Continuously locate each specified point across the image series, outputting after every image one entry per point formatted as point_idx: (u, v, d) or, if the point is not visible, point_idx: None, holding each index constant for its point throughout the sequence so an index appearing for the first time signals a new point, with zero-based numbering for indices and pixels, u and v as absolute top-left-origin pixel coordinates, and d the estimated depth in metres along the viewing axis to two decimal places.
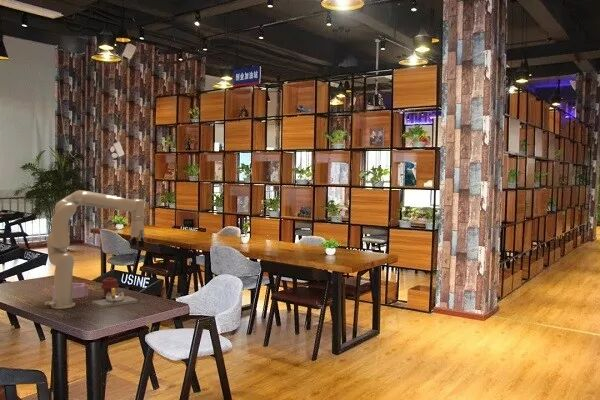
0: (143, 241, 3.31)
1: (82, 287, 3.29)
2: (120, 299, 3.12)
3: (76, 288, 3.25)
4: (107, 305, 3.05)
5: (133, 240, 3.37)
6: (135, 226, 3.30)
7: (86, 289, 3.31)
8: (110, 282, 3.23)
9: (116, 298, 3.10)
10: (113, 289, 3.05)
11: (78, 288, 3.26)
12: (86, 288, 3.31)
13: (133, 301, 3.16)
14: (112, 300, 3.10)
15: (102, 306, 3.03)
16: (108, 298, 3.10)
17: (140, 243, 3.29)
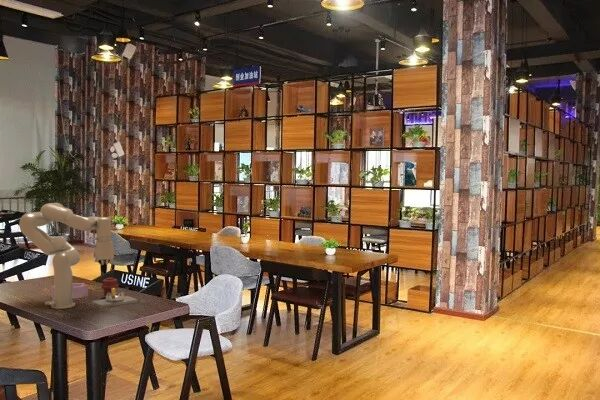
0: None
1: (82, 287, 3.28)
2: (120, 299, 3.12)
3: (76, 288, 3.25)
4: (107, 305, 3.05)
5: None
6: (110, 247, 3.00)
7: (86, 289, 3.31)
8: (110, 282, 3.23)
9: (116, 298, 3.10)
10: (113, 289, 3.05)
11: (78, 288, 3.26)
12: (86, 288, 3.31)
13: (133, 301, 3.16)
14: (112, 300, 3.10)
15: (102, 306, 3.03)
16: (108, 298, 3.10)
17: (106, 267, 3.01)
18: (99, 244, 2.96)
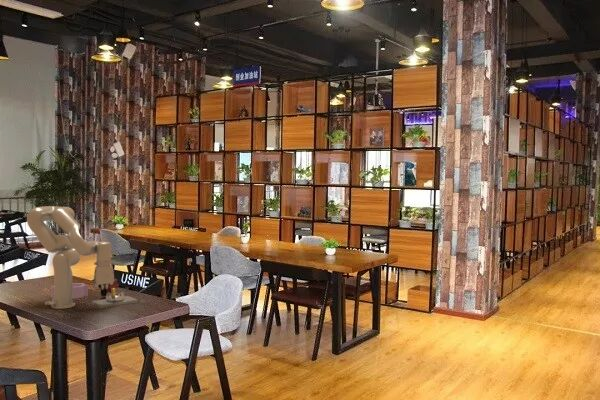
0: None
1: (82, 287, 3.28)
2: (120, 299, 3.12)
3: (76, 288, 3.25)
4: (107, 305, 3.05)
5: None
6: (110, 271, 3.00)
7: (86, 289, 3.31)
8: None
9: (116, 298, 3.10)
10: (113, 289, 3.05)
11: (78, 288, 3.26)
12: (86, 288, 3.31)
13: (133, 301, 3.16)
14: (112, 300, 3.10)
15: (102, 306, 3.03)
16: (108, 298, 3.10)
17: (106, 291, 3.01)
18: (99, 269, 2.96)
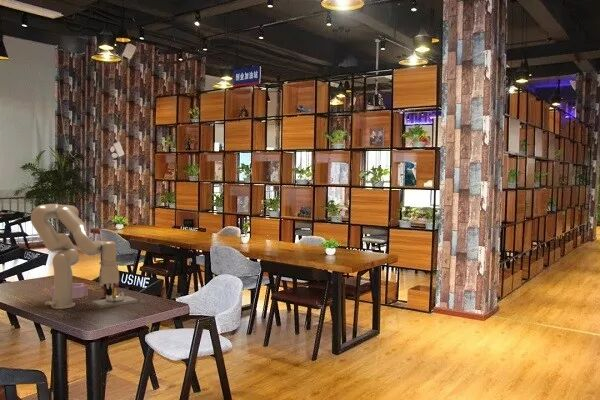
0: None
1: (82, 287, 3.28)
2: (120, 299, 3.12)
3: (76, 288, 3.25)
4: (107, 305, 3.05)
5: None
6: (115, 271, 3.02)
7: (86, 289, 3.31)
8: None
9: (116, 298, 3.10)
10: (114, 289, 3.05)
11: (78, 288, 3.26)
12: (86, 288, 3.31)
13: (133, 301, 3.16)
14: (112, 300, 3.10)
15: (102, 306, 3.03)
16: (108, 298, 3.10)
17: (111, 291, 3.03)
18: (104, 268, 2.98)
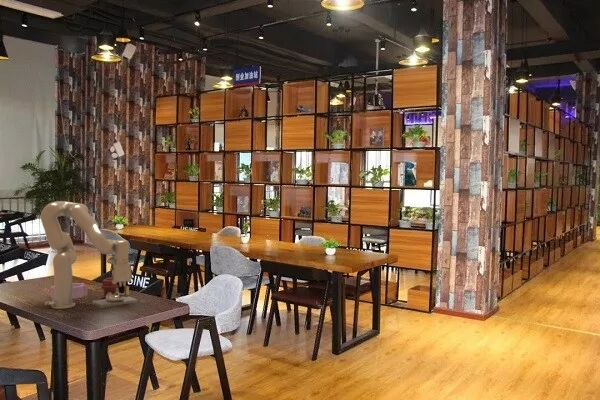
0: None
1: (81, 287, 3.28)
2: (123, 297, 3.16)
3: (75, 288, 3.25)
4: (107, 305, 3.05)
5: None
6: (127, 269, 3.07)
7: (85, 289, 3.31)
8: (110, 282, 3.23)
9: (122, 297, 3.14)
10: (128, 287, 3.10)
11: (77, 289, 3.26)
12: (85, 288, 3.31)
13: (133, 301, 3.16)
14: (120, 299, 3.12)
15: (102, 306, 3.03)
16: (115, 298, 3.10)
17: (124, 289, 3.08)
18: (117, 266, 3.03)
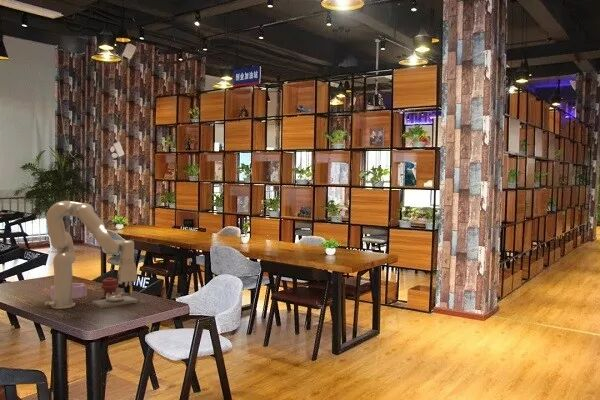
0: None
1: (80, 287, 3.28)
2: None
3: (74, 288, 3.25)
4: (107, 305, 3.05)
5: None
6: (133, 269, 3.10)
7: (84, 289, 3.31)
8: (110, 282, 3.23)
9: (123, 296, 3.16)
10: (131, 286, 3.14)
11: (76, 289, 3.26)
12: (84, 288, 3.31)
13: (133, 301, 3.16)
14: (122, 299, 3.14)
15: (102, 306, 3.03)
16: (119, 298, 3.11)
17: (129, 288, 3.11)
18: (123, 266, 3.06)
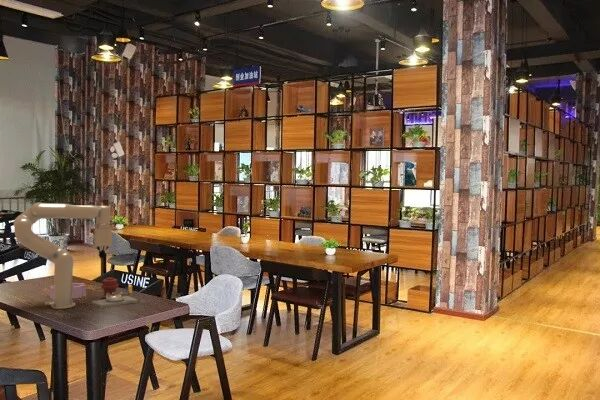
0: None
1: (79, 287, 3.28)
2: None
3: (73, 288, 3.25)
4: (107, 305, 3.05)
5: None
6: (108, 234, 3.13)
7: (84, 289, 3.30)
8: (110, 282, 3.23)
9: (123, 296, 3.16)
10: (131, 286, 3.14)
11: (75, 289, 3.25)
12: (84, 288, 3.30)
13: (133, 301, 3.16)
14: (122, 299, 3.14)
15: (102, 306, 3.03)
16: (119, 298, 3.11)
17: (104, 253, 3.14)
18: (98, 231, 3.10)
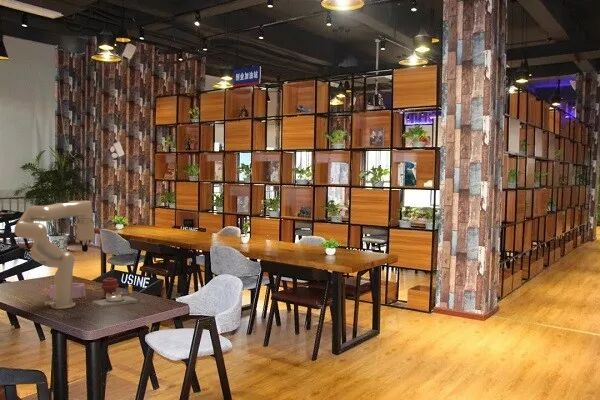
0: None
1: (78, 287, 3.27)
2: None
3: None
4: (107, 305, 3.05)
5: None
6: (90, 228, 3.20)
7: (83, 289, 3.30)
8: (110, 282, 3.23)
9: (123, 296, 3.16)
10: (131, 286, 3.14)
11: (73, 289, 3.25)
12: (83, 288, 3.30)
13: (133, 301, 3.16)
14: (122, 299, 3.14)
15: (102, 306, 3.03)
16: (119, 298, 3.11)
17: (87, 247, 3.21)
18: (80, 225, 3.16)
